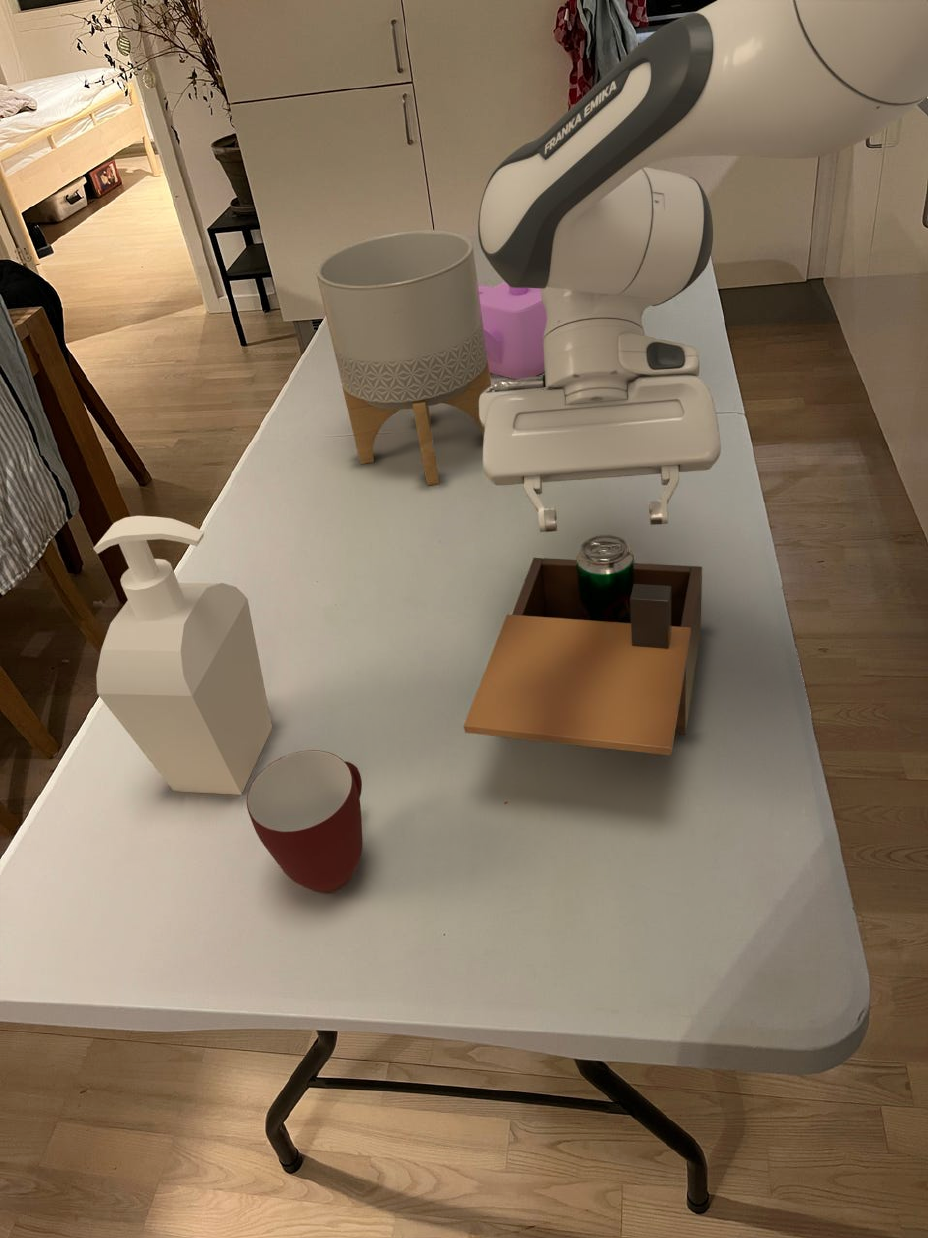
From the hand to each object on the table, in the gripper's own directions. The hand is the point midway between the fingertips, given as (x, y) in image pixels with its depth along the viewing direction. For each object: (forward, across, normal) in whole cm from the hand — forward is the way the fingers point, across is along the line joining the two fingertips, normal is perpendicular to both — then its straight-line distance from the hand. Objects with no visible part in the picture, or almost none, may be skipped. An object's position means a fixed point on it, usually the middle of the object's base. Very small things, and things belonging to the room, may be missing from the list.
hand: (603, 527), depth 83 cm
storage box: (+12, 0, +10) cm, 16 cm away
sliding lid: (+13, -2, -3) cm, 14 cm away
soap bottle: (+19, -35, +3) cm, 40 cm away
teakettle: (-39, -11, +61) cm, 73 cm away
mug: (+27, -23, -5) cm, 36 cm away
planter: (-20, -23, +43) cm, 53 cm away
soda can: (+10, 0, +11) cm, 15 cm away
